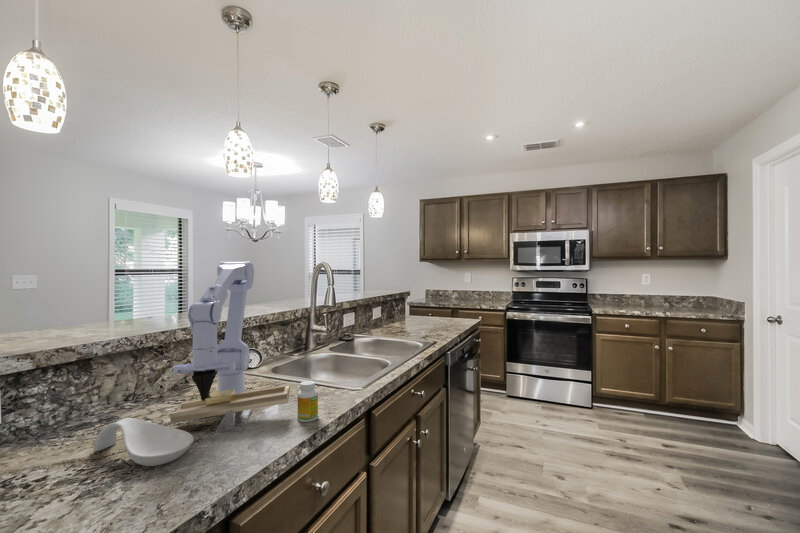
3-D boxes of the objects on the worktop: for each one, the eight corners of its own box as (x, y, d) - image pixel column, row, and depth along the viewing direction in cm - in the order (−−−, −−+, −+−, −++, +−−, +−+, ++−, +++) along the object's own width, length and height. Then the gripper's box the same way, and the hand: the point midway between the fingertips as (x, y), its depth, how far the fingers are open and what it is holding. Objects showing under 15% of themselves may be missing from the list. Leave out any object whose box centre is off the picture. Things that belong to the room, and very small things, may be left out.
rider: (212, 403, 98) (211, 392, 98) (236, 399, 99) (234, 388, 99) (206, 410, 93) (205, 398, 93) (231, 406, 94) (230, 394, 94)
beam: (183, 413, 98) (182, 402, 98) (290, 395, 104) (289, 384, 104) (170, 425, 90) (169, 413, 90) (287, 405, 96) (286, 394, 96)
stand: (228, 414, 102) (228, 398, 102) (251, 412, 103) (251, 396, 103) (216, 433, 90) (216, 414, 90) (242, 430, 91) (241, 412, 92)
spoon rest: (205, 450, 82) (205, 418, 82) (157, 479, 71) (157, 442, 71) (128, 437, 89) (128, 408, 89) (72, 462, 77) (73, 428, 78)
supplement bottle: (312, 423, 96) (312, 386, 96) (293, 421, 97) (293, 385, 97) (321, 415, 101) (320, 380, 101) (303, 414, 102) (303, 379, 102)
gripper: (168, 352, 90) (168, 407, 90) (230, 349, 93) (230, 402, 93) (179, 346, 97) (179, 397, 97) (237, 344, 100) (237, 393, 100)
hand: (205, 399), depth 95 cm, fingers closed
